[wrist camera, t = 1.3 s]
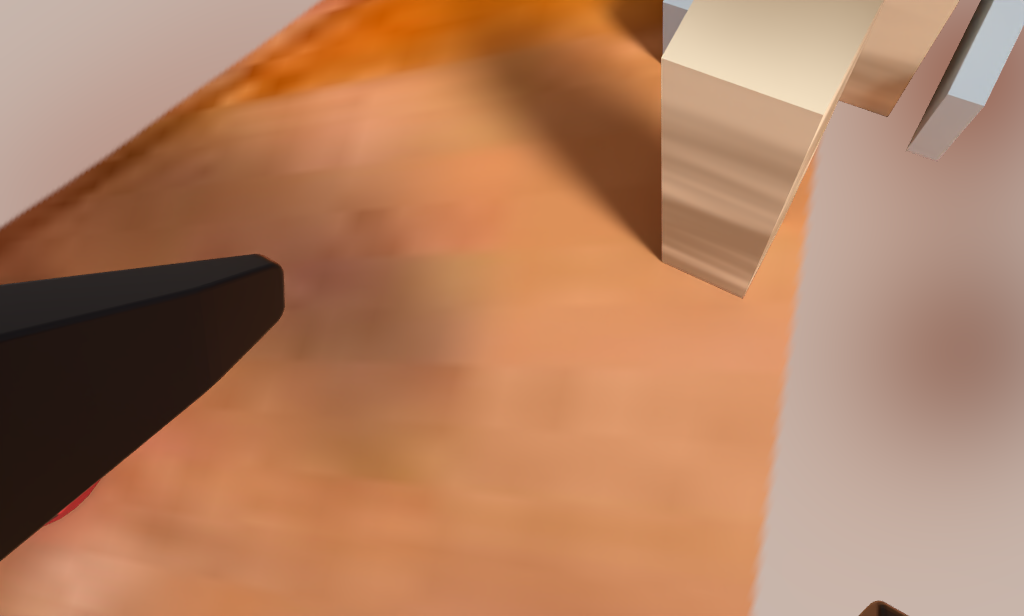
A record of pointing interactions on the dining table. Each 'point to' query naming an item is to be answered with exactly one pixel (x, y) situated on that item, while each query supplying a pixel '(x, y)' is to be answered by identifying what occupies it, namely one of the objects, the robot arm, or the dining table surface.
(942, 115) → the stall
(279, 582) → the dining table surface
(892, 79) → the tethered block
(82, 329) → the robot arm
